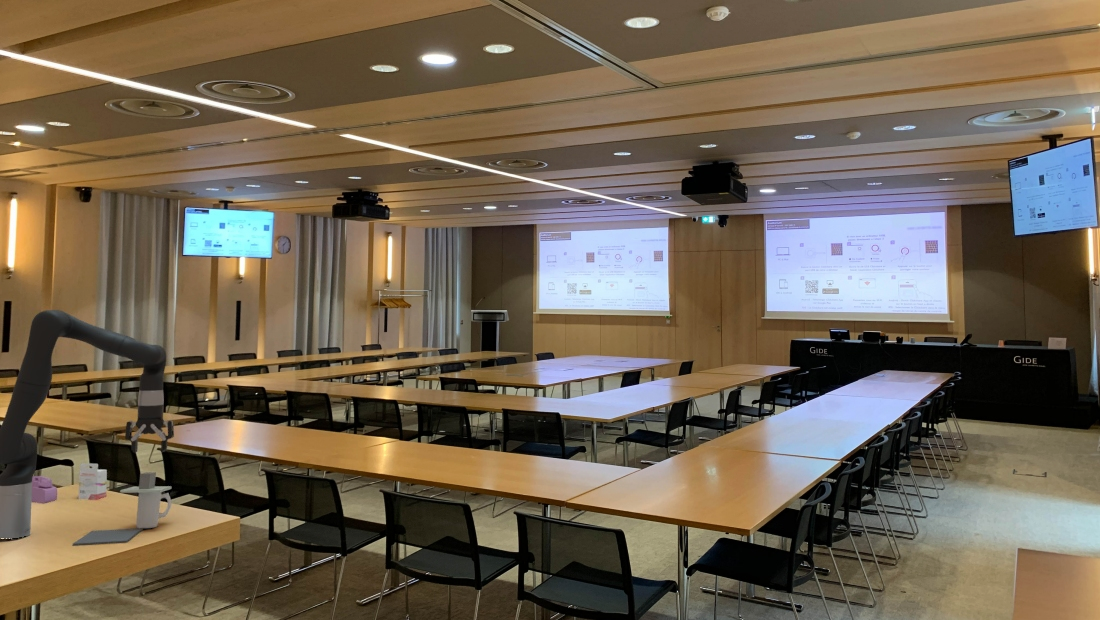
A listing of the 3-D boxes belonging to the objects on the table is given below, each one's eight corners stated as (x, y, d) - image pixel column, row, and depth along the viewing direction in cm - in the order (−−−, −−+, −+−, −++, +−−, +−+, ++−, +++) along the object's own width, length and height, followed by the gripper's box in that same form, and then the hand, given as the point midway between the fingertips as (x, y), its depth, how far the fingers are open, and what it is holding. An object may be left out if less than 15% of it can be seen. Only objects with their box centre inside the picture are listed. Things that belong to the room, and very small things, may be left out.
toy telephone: (58, 501, 274) (59, 475, 275) (42, 505, 268) (43, 478, 269) (28, 497, 280) (29, 472, 281) (11, 501, 274) (12, 475, 275)
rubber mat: (72, 545, 215) (72, 543, 215) (91, 532, 230) (92, 530, 230) (126, 542, 219) (126, 540, 219) (142, 529, 233) (142, 528, 233)
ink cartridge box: (106, 499, 278) (108, 461, 279) (96, 502, 273) (98, 463, 274) (88, 498, 279) (89, 461, 280) (77, 501, 274) (78, 463, 275)
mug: (134, 528, 231) (138, 491, 233) (134, 526, 237) (138, 489, 239) (169, 527, 236) (173, 490, 238) (168, 524, 242) (172, 488, 244)
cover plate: (120, 492, 229) (122, 474, 230) (133, 488, 241) (135, 471, 241) (160, 492, 232) (162, 474, 232) (171, 488, 243) (172, 471, 244)
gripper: (123, 404, 232) (121, 454, 231) (170, 404, 236) (169, 453, 235) (131, 403, 239) (129, 450, 239) (176, 402, 243) (175, 449, 242)
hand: (149, 451), depth 237 cm, fingers open, 8 cm apart
